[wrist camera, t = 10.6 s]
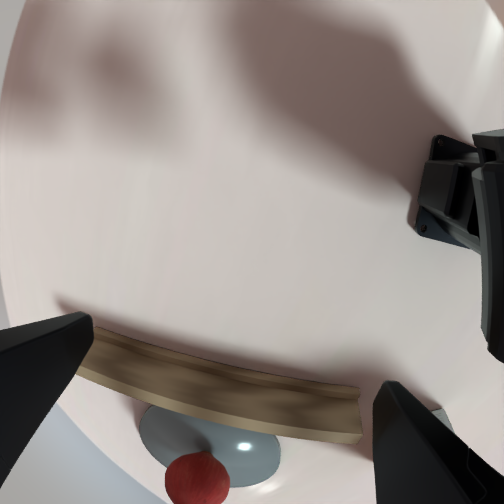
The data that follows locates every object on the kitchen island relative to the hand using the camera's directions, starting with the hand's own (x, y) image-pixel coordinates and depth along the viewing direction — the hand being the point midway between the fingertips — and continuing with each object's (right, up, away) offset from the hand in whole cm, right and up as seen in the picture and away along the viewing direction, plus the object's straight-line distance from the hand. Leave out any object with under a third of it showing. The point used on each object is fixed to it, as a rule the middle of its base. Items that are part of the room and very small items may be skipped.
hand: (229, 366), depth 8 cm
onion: (-4, -16, +17) cm, 24 cm away
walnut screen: (-2, -6, +15) cm, 16 cm away
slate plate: (-4, -16, +18) cm, 24 cm away
